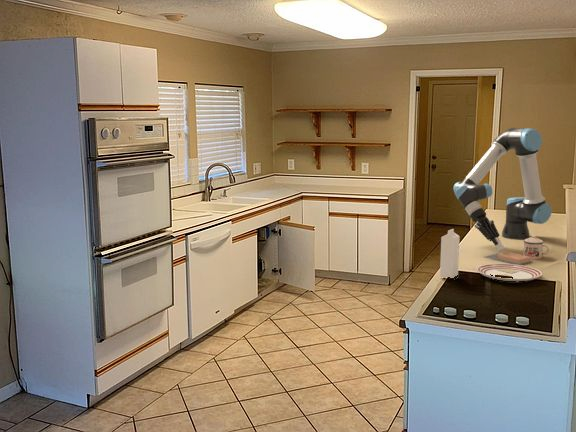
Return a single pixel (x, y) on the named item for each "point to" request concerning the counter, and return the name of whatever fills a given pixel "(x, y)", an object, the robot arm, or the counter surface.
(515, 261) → the peach box
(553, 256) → the counter surface
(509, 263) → the mat
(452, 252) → the milk
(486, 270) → the dinner plate
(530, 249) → the teacup with lid
